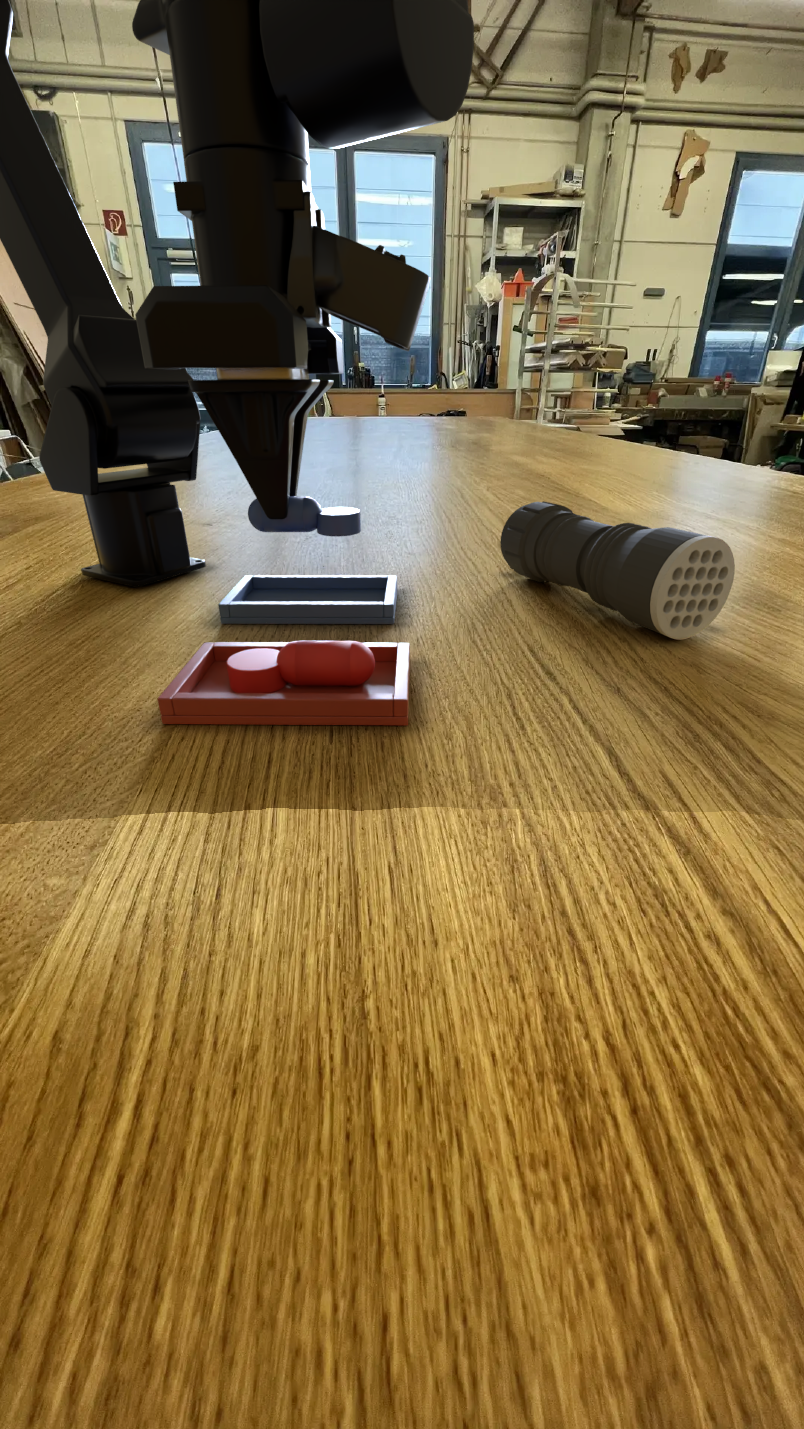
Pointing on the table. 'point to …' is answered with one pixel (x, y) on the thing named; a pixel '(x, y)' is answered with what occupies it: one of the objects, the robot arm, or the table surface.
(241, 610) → the blue tray
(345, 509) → the blue capsule with disc
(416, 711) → the table surface
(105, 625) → the table surface
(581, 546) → the flashlight
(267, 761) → the table surface
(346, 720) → the red tray
